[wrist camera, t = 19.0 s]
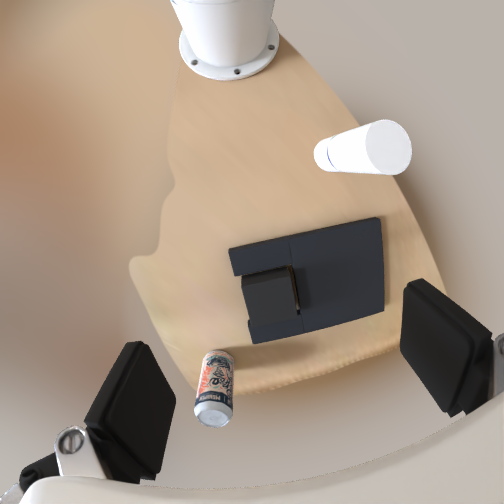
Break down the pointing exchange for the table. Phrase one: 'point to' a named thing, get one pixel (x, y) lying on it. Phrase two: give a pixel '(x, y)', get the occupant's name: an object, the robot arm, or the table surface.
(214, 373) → the beer can
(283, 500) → the robot arm
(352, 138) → the tube
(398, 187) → the table surface
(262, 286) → the black block
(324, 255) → the dark blue flat slab
